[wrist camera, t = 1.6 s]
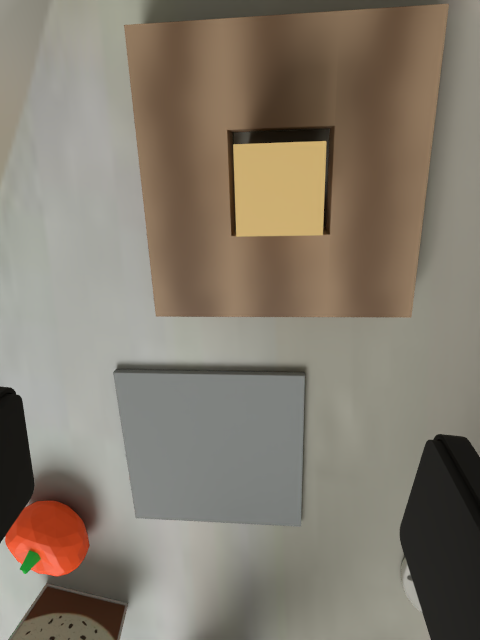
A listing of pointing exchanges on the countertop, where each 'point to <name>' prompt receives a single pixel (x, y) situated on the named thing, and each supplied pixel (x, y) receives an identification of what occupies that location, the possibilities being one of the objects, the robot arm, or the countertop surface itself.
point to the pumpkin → (48, 538)
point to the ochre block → (279, 188)
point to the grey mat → (214, 444)
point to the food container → (71, 616)
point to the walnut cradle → (287, 114)
